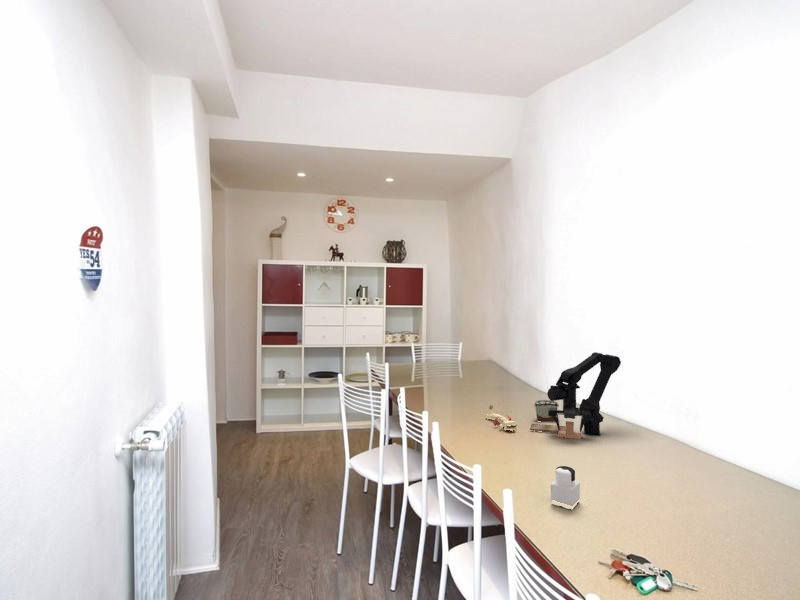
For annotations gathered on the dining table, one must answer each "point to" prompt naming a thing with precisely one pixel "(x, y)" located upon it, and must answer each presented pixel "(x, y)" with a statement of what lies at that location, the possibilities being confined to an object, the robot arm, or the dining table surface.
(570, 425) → the stub
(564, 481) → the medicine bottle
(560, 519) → the dining table surface
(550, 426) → the ticket board
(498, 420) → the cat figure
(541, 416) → the food container
